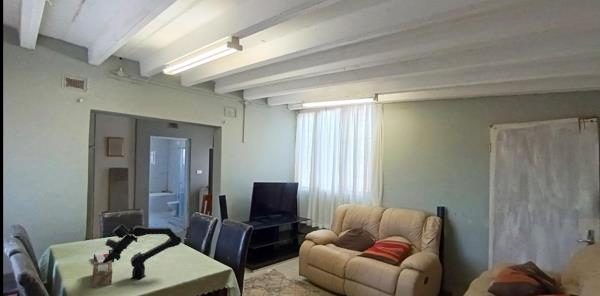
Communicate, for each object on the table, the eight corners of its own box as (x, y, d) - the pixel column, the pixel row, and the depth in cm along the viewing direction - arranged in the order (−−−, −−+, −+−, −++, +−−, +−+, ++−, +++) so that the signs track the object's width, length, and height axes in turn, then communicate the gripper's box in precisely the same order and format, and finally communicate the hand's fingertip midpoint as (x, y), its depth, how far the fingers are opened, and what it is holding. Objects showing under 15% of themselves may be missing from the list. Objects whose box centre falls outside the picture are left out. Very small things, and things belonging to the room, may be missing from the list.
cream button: (107, 269, 202) (107, 264, 202) (107, 271, 198) (107, 266, 198) (97, 270, 200) (97, 265, 200) (97, 273, 195) (97, 268, 195)
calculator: (96, 259, 228) (93, 253, 240) (96, 266, 228) (93, 258, 240) (114, 257, 235) (110, 250, 246) (114, 263, 235) (110, 256, 247)
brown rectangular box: (110, 272, 215) (111, 259, 216) (111, 284, 196) (112, 270, 197) (92, 274, 210) (93, 261, 210) (91, 287, 191) (92, 273, 192)
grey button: (107, 263, 212) (107, 258, 212) (107, 266, 207) (107, 261, 207) (97, 264, 209) (98, 259, 209) (97, 267, 205) (98, 262, 205)
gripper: (114, 231, 210) (93, 250, 204) (115, 238, 194) (92, 259, 188) (127, 242, 214) (106, 261, 208) (129, 250, 198) (107, 270, 192)
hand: (103, 262), depth 199 cm, fingers closed
